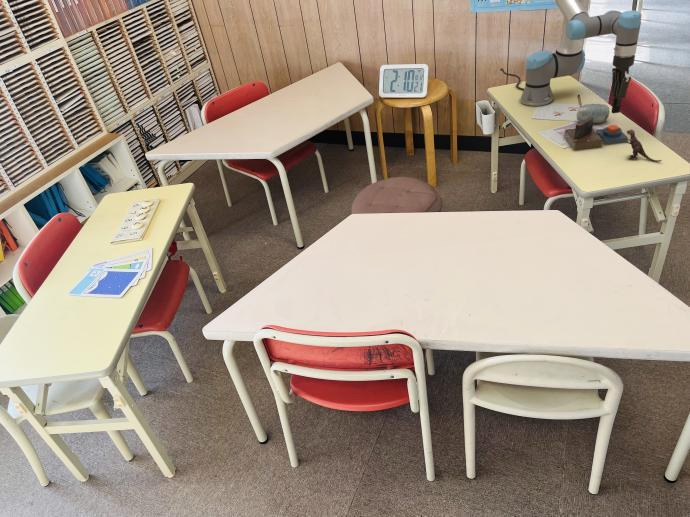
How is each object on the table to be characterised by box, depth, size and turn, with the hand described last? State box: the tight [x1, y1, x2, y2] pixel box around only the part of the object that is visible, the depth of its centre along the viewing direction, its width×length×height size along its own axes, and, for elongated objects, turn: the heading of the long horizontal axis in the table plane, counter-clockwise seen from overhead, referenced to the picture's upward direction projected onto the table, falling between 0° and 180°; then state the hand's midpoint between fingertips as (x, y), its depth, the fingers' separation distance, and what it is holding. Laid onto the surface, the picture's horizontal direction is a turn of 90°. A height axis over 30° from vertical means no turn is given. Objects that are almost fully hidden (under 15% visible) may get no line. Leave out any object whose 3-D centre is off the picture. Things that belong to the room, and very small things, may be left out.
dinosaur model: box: [626, 129, 663, 163], centre depth 207 cm, size 4×12×15 cm
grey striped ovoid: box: [575, 103, 610, 124], centre depth 240 cm, size 14×10×10 cm
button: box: [607, 124, 619, 132], centre depth 225 cm, size 4×4×2 cm
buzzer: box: [595, 126, 629, 146], centre depth 227 cm, size 11×9×4 cm
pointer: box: [574, 117, 594, 139], centre depth 225 cm, size 10×2×6 cm, turn 127°
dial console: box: [563, 127, 603, 152], centre depth 228 cm, size 14×14×4 cm
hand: (615, 112), depth 221 cm, fingers closed
